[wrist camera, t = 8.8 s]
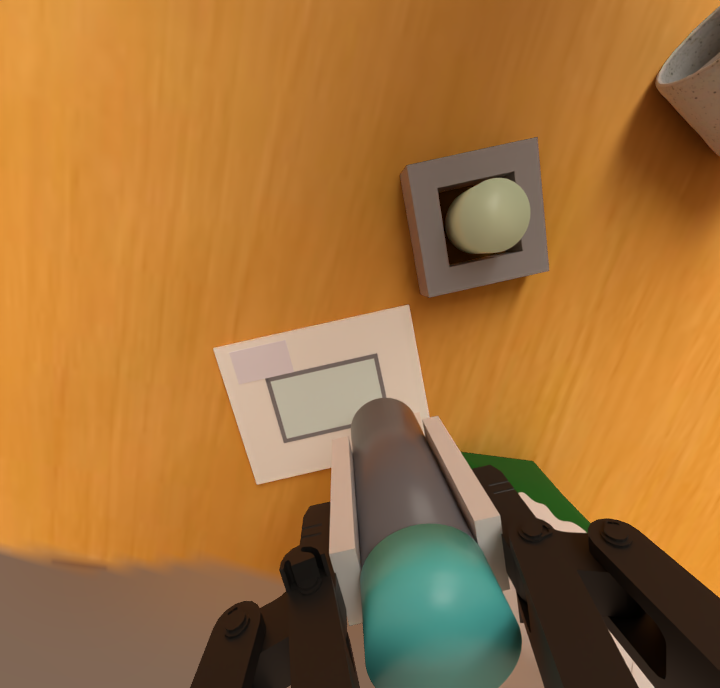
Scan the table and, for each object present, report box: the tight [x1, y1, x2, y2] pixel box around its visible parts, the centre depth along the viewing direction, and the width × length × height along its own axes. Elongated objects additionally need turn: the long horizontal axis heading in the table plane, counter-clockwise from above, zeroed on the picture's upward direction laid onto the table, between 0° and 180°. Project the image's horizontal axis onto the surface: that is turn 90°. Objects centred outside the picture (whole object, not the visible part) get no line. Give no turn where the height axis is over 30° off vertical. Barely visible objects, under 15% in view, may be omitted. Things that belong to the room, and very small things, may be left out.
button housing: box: [400, 137, 549, 298], centre depth 23 cm, size 8×8×2 cm
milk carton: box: [461, 452, 654, 688], centre depth 20 cm, size 9×9×20 cm
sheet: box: [213, 304, 430, 485], centre depth 26 cm, size 11×14×1 cm
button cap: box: [445, 178, 530, 254], centre depth 22 cm, size 4×4×3 cm
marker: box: [351, 398, 522, 688], centre depth 14 cm, size 4×4×12 cm
